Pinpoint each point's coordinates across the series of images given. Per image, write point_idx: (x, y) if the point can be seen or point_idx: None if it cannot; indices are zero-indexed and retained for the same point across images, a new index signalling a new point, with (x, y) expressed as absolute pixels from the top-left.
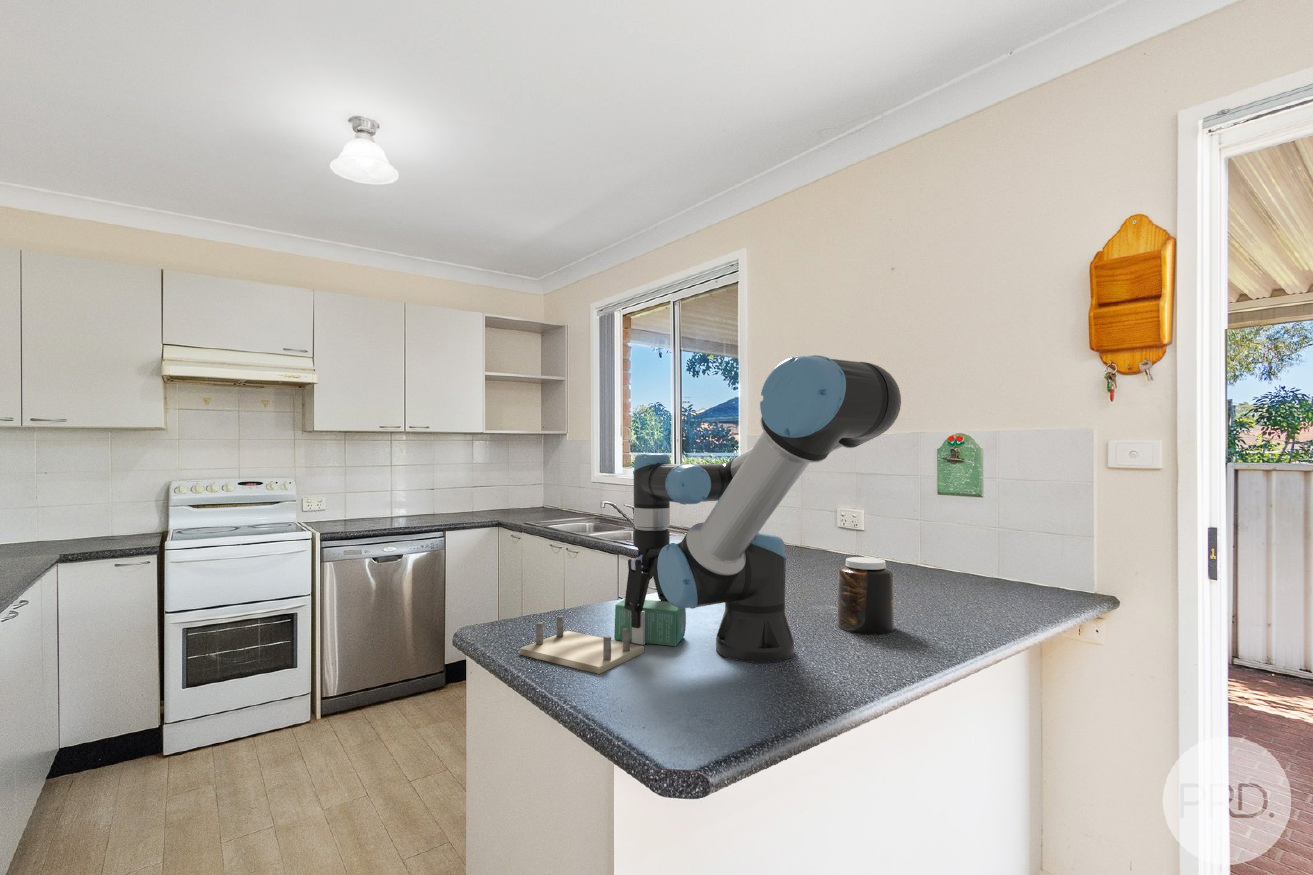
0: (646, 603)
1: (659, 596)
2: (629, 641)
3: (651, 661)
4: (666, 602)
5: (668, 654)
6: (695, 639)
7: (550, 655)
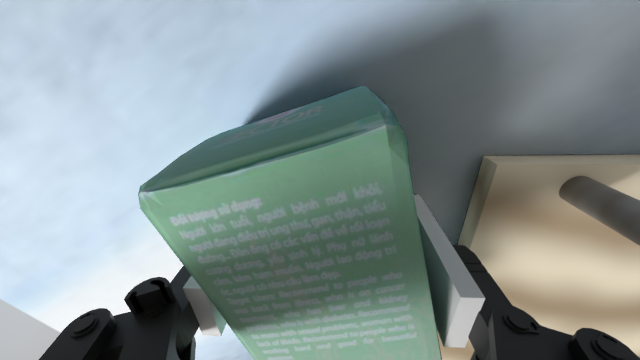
0: (337, 347)
1: (192, 354)
2: (621, 195)
3: (587, 70)
4: (231, 287)
5: (467, 60)
6: (224, 77)
7: None
